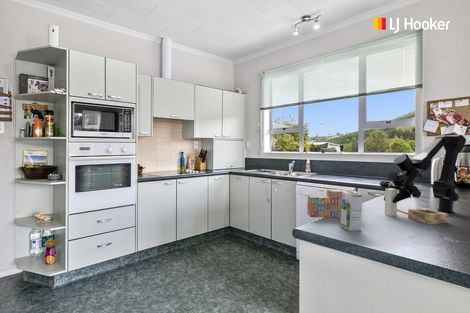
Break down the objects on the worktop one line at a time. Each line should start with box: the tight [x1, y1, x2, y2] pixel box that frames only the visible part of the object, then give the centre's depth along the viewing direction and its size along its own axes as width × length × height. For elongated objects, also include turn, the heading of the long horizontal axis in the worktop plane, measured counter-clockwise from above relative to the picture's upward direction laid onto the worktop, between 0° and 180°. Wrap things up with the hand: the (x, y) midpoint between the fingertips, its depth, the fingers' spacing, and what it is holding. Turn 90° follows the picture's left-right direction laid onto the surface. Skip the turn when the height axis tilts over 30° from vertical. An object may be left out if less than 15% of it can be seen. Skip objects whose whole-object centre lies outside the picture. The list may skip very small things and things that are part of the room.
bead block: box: [407, 207, 449, 225], centre depth 115 cm, size 10×10×4 cm
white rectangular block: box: [384, 188, 399, 217], centre depth 123 cm, size 4×4×12 cm
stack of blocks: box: [306, 188, 359, 219], centre depth 120 cm, size 21×6×12 cm, turn 88°
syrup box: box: [340, 190, 363, 232], centre depth 102 cm, size 6×6×14 cm
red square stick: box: [397, 208, 408, 215], centre depth 130 cm, size 14×1×1 cm, turn 1°
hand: (388, 201), depth 123 cm, fingers open, 5 cm apart
